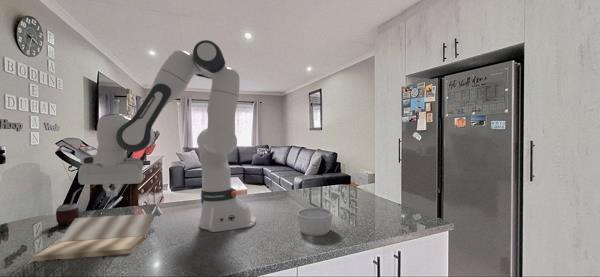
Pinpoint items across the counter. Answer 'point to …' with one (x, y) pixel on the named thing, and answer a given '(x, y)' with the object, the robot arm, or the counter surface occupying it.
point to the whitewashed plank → (108, 227)
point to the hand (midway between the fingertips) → (112, 195)
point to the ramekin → (314, 221)
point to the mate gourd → (67, 213)
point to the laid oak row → (89, 248)
